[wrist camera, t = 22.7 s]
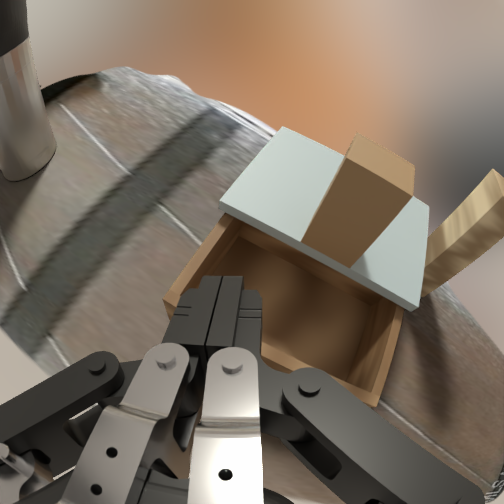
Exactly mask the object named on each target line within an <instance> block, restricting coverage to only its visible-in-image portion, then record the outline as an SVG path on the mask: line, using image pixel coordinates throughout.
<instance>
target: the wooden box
mask: <svg viewBox="0 0 504 504" xmlns="http://www.w3.org/2000/svg"><path fill="white" fill-rule="evenodd" d="M203 276H243V277H244V290H257V291H258V292H259V294H260V296H261V297H262V347H261V359H262V360H263V362H264V363H265V364H266V365H267V366H269V367H270V368H272V369H274V370H277V371H280V372H284V373H287V374H290V373H291V372H293V371H295V370H297V369H300V368H306V367H312V368H317V369H320V370H323V371H325V372H326V373H328V374H329V375H330V376H331V377H332V378H334V379H335V380H336V381H337V382H339V383H340V384H341V385H342V386H343V387H345V388H346V389H347V390H348V391H350V392H351V393H352V394H353V395H355V396H356V397H357V398H358V399H360V400H361V401H362V402H363V403H365V404H366V405H367V406H368V407H370V408H371V407H376V406H377V404H378V401H379V398H380V395H381V392H382V389H383V386H384V383H385V380H386V377H387V374H388V371H389V367H390V364H391V361H392V357H393V354H394V350H395V346H396V343H397V339H398V335H399V331H400V327H401V322H402V318H403V314H404V309H405V308H403V307H401V306H400V305H398V304H396V303H394V302H393V301H391V300H389V299H387V298H385V297H384V296H382V295H380V294H378V293H376V292H375V291H373V290H371V289H369V288H367V287H366V286H364V285H362V284H360V283H358V282H356V281H355V280H353V279H351V278H349V277H347V276H345V275H344V274H342V273H340V272H338V271H336V270H334V269H332V268H331V267H329V266H327V265H325V264H323V263H321V262H319V261H318V260H316V259H314V258H312V257H310V256H308V255H306V254H305V253H303V252H301V251H299V250H297V249H295V248H293V247H291V246H289V245H287V244H286V243H284V242H282V241H280V240H278V239H276V238H274V237H272V236H270V235H268V234H266V233H265V232H263V231H261V230H259V229H257V228H255V227H253V226H251V225H249V224H247V223H245V222H243V221H241V220H239V219H237V218H235V217H234V216H232V215H230V214H228V213H226V212H225V214H224V215H223V216H222V218H221V219H220V220H219V222H218V223H217V224H216V226H215V227H214V228H213V230H212V231H211V232H210V234H209V235H208V236H207V238H206V239H205V240H204V242H203V243H202V244H201V246H200V247H199V249H198V250H197V251H196V253H195V254H194V255H193V257H192V258H191V260H190V261H189V262H188V264H187V265H186V266H185V268H184V269H183V271H182V272H181V273H180V275H179V276H178V278H177V279H176V281H175V282H174V283H173V285H172V286H171V288H170V289H169V290H168V292H167V293H166V295H165V296H164V298H163V302H164V305H165V308H166V311H167V314H168V317H169V320H170V321H171V318H172V316H173V313H174V311H175V309H176V308H177V304H178V301H179V299H180V297H181V296H182V295H183V294H184V293H185V292H186V291H187V290H188V289H189V288H195V289H198V288H199V285H200V282H201V279H202V277H203Z"/></svg>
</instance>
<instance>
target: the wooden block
mask: <svg viewBox="0 0 504 504" xmlns="http://www.w3.org/2000/svg"><path fill="white" fill-rule="evenodd" d="M503 236H504V178H503V177H502V176H501V175H500V174H499V173H497V172H496V171H495V170H494V169H492V170H491V171H490V172H489V173H488V175H487V176H486V177H485V178H484V179H483V181H482V182H481V183H480V184H479V185H478V186H477V187H476V188H475V190H473V192H472V193H471V194H470V195H469V196H468V197H467V198H466V199H465V200H464V201H463V202H462V204H461V205H460V206H459V207H458V208H457V209H456V210H455V211H454V212H453V213H452V214H451V215H450V216H449V217H448V218H447V219H446V220H445V221H444V222H443V223H442V224H441V225H440V226H439V227H438V228H437V229H436V230H435V231H434V232H433V233H432V234H431V235H430V236H429V237H428V238H427V248H426V258H425V267H424V275H423V282H422V289H421V295H420V296H421V297H424V296H426V295H427V294H429V293H430V292H432V291H433V290H435V289H436V288H438V287H439V286H441V285H442V284H444V283H445V282H446V281H448V280H449V279H451V278H452V277H453V276H455V275H456V274H457V273H459V272H460V271H461V270H463V269H464V268H466V267H467V266H468V265H469V264H471V263H472V262H473V261H475V260H476V259H477V258H479V257H480V256H481V255H482V254H484V253H485V252H486V251H487V250H488V249H490V248H491V247H492V246H493V245H494V244H496V243H497V242H498V241H499V240H500V239H502V238H503Z"/></svg>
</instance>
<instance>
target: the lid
mask: <svg viewBox="0 0 504 504" xmlns="http://www.w3.org/2000/svg"><path fill="white" fill-rule="evenodd" d="M414 174H415V166H414V165H412V164H411V163H409V162H407V161H406V160H404V159H403V158H401V157H399V156H398V155H396V154H394V153H393V152H391V151H389V150H388V149H386V148H384V147H383V146H381V145H379V144H377V143H375V142H374V141H372V140H370V139H368V138H367V137H365V136H363V135H361V134H359V133H356V135H355V137H354V139H353V141H352V143H351V145H350V147H349V149H348V151H347V152H346V154H345V156H343V155H342V154H340V153H338V152H336V151H334V150H332V149H330V148H328V147H326V146H324V145H322V144H320V143H318V142H316V141H314V140H312V139H309V138H307V137H305V136H303V135H301V134H299V133H296V132H294V131H292V130H290V129H287V128H285V127H282V128H281V129H280V130H279V131H278V132H277V133H276V134H275V135H274V136H273V138H272V139H271V140H270V141H269V142H268V143H267V144H266V146H265V147H264V148H263V149H262V150H261V151H260V153H259V154H258V155H257V156H256V157H255V158H254V160H253V161H252V162H251V163H250V164H249V165H248V167H247V168H246V169H245V170H244V171H243V173H242V174H241V175H240V176H239V177H238V179H237V180H236V181H235V182H234V183H233V185H232V186H231V187H230V188H229V190H228V191H227V192H226V193H225V194H224V196H223V197H222V198H221V199H220V201H219V209H220V210H222V211H224V212H226V213H228V214H230V215H232V216H234V217H235V218H237V219H239V220H241V221H243V222H245V223H247V224H249V225H251V226H253V227H255V228H257V229H259V230H261V231H263V232H265V233H266V234H268V235H270V236H272V237H274V238H276V239H278V240H280V241H282V242H284V243H286V244H287V245H289V246H291V247H293V248H295V249H297V250H299V251H301V252H303V253H305V254H306V255H308V256H310V257H312V258H314V259H316V260H318V261H319V262H321V263H323V264H325V265H327V266H329V267H331V268H332V269H334V270H336V271H338V272H340V273H342V274H344V275H345V276H347V277H349V278H351V279H353V280H355V281H356V282H358V283H360V284H362V285H364V286H366V287H367V288H369V289H371V290H373V291H375V292H376V293H378V294H380V295H382V296H384V297H385V298H387V299H389V300H391V301H393V302H394V303H396V304H398V305H400V306H401V307H403V308H405V309H407V310H409V311H410V312H412V311H413V310H415V309H416V308H418V307H419V301H420V295H421V289H422V282H423V275H424V267H425V258H426V248H427V236H428V221H429V220H428V219H429V206H427V205H426V204H424V203H423V202H421V201H420V200H418V199H417V198H415V197H414V196H413V188H414Z"/></svg>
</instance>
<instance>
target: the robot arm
mask: <svg viewBox="0 0 504 504" xmlns="http://www.w3.org/2000/svg"><path fill="white" fill-rule="evenodd" d="M55 149H56V141H55V138H54V135H53V132H52V129H51V125H50V122H49V119H48V115H47V112H46V108H45V105H44V101H43V98H42V94H41V90H40V86H39V82H38V78H37V73H36V69H35V64H34V59H33V55H32V50H31V44H30V38H29V32H28V24H27V7H26V0H0V169H1V171H2V173H3V175H4V176H5V178H6V179H7V180H10V181H18V180H22V179H25V178H27V177H29V176H31V175H33V174H34V173H36V172H37V171H39V170H40V169H41V168H42V167H43V166H44V165H45V164H46V163H47V162H48V161H49V160H50V159H51V157H52V156H53V154H54V152H55ZM261 347H262V297H261V296H260V294H259V292H258V291H257V290H244V277H243V276H203V277H202V279H201V282H200V285H199V288H198V289H195V288H189V289H188V290H187V291H186V292H185V293H184V294H183V295H182V296H181V297H180V299H179V301H178V304H177V308H176V309H175V311H174V313H173V316H172V318H171V321H170V323H169V326H168V328H167V331H166V333H165V336H164V338H163V341H162V343H161V344H159V345H156V346H154V347H153V348H151V349H150V350H149V351H148V352H147V353H146V355H145V357H144V358H143V359H142V360H138V361H130V362H122V363H119V361H118V359H117V357H116V356H115V355H114V354H112V353H110V352H106V351H99V352H95V353H92V354H90V355H88V356H87V357H85V358H83V359H81V360H80V361H78V362H76V363H74V364H73V365H71V366H69V367H67V368H66V369H64V370H62V371H60V372H59V373H57V374H55V375H53V376H52V377H50V378H48V379H46V380H45V381H43V382H41V383H39V384H38V385H36V386H34V387H33V388H30V389H29V390H27V391H25V392H24V393H22V394H20V395H18V396H16V397H15V398H13V399H11V400H9V401H7V402H6V403H4V404H2V405H0V504H294V503H293V502H291V501H290V500H289V499H287V498H286V497H284V496H282V495H280V494H278V493H276V492H274V491H271V490H269V489H266V488H263V487H262V462H261V435H260V432H263V433H266V434H269V435H272V436H275V437H279V438H280V440H281V441H282V443H283V444H284V445H285V446H286V447H287V448H288V449H289V450H290V451H291V452H292V453H293V454H294V455H295V456H296V457H297V458H298V459H299V460H300V461H301V462H302V463H303V464H304V465H305V466H306V467H307V468H308V469H309V470H310V471H311V472H312V473H313V474H314V475H315V476H316V477H317V478H318V479H319V480H320V481H322V482H323V483H324V484H325V485H326V486H327V487H328V488H329V489H330V490H331V491H332V492H334V493H335V494H336V495H337V496H338V497H339V498H340V499H341V500H343V501H344V502H345V503H346V504H485V498H484V494H483V492H482V490H481V489H480V488H479V487H478V486H477V485H475V484H474V483H472V482H471V481H469V480H468V479H466V478H465V477H463V476H462V475H460V474H459V473H457V472H456V471H455V470H453V469H452V468H450V467H449V466H447V465H446V464H445V463H443V462H442V461H440V460H439V459H437V458H436V457H435V456H433V455H432V454H431V453H429V452H428V451H426V450H425V449H424V448H422V447H421V446H420V445H418V444H417V443H415V442H414V441H413V440H411V439H410V438H409V437H407V436H406V435H405V434H403V433H402V432H401V431H399V430H398V429H397V428H396V427H394V426H393V425H392V424H390V423H389V422H388V421H386V420H385V419H384V418H383V417H381V416H380V415H379V414H377V413H376V412H375V411H374V410H372V409H371V408H370V407H368V406H367V405H366V404H365V403H363V402H362V401H361V400H360V399H358V398H357V397H356V396H355V395H353V394H352V393H351V392H350V391H348V390H347V389H346V388H345V387H343V386H342V385H341V384H340V383H339V382H337V381H336V380H335V379H334V378H332V377H331V376H330V375H329V374H328V373H326V372H325V371H323V370H320V369H317V368H312V367H306V368H300V369H297V370H295V371H293V372H291V373H290V374H287V373H284V372H280V371H277V370H274V369H272V368H270V367H269V366H267V365H266V364H265V363H264V362H263V360H262V359H261ZM203 396H204V400H203ZM202 401H203V403H202ZM95 403H98V405H97V406H95V407H94V408H92V409H90V410H89V411H87V412H85V413H84V414H82V415H80V416H78V417H77V418H75V419H72V420H69V419H70V418H72V417H73V416H75V415H77V414H78V413H80V412H82V411H84V410H85V409H87V408H89V407H90V406H92V405H94V404H95ZM201 415H202V418H201ZM200 419H201V422H200ZM199 422H200V424H199ZM192 446H193V450H192V460H191V470H190V453H191V449H192ZM75 465H76V467H75V468H74V469H73V470H71V471H70V472H68V473H66V474H64V475H63V476H61V477H60V478H58V479H56V480H54V479H53V477H55V476H57V475H59V474H61V473H63V472H64V471H66V470H68V469H70V468H72V467H73V466H75ZM189 472H190V478H188V477H189Z"/></svg>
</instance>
